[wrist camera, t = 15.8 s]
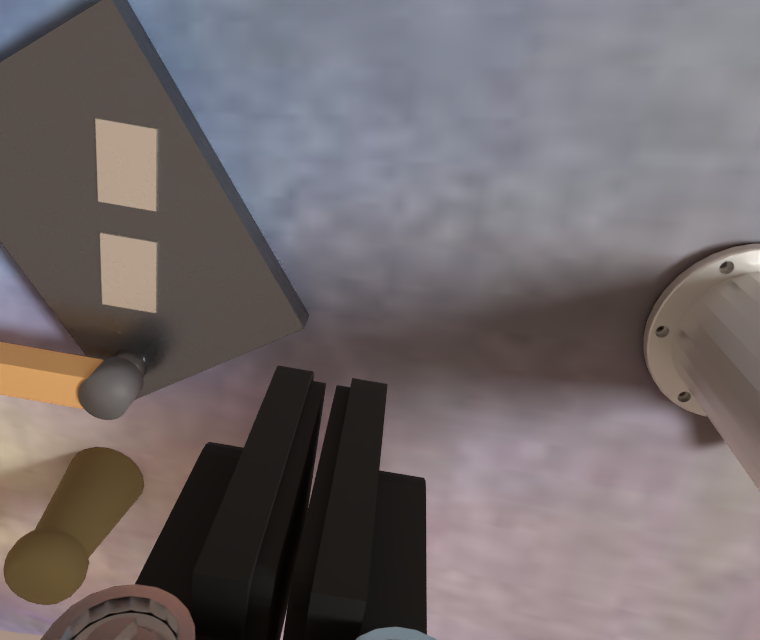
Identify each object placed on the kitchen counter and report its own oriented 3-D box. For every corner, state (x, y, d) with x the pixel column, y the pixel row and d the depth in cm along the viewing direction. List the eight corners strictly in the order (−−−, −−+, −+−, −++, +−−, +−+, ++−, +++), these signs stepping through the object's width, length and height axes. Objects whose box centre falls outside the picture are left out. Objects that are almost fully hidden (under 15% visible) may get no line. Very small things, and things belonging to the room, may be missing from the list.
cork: (54, 460, 52) (-33, 566, 42) (116, 437, 50) (42, 542, 41) (97, 514, 54) (24, 628, 44) (158, 494, 53) (96, 606, 43)
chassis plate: (308, 315, 45) (300, 338, 42) (134, 389, 48) (113, 416, 45) (124, -4, 37) (96, -6, 34) (-69, 113, 40) (-111, 122, 37)
